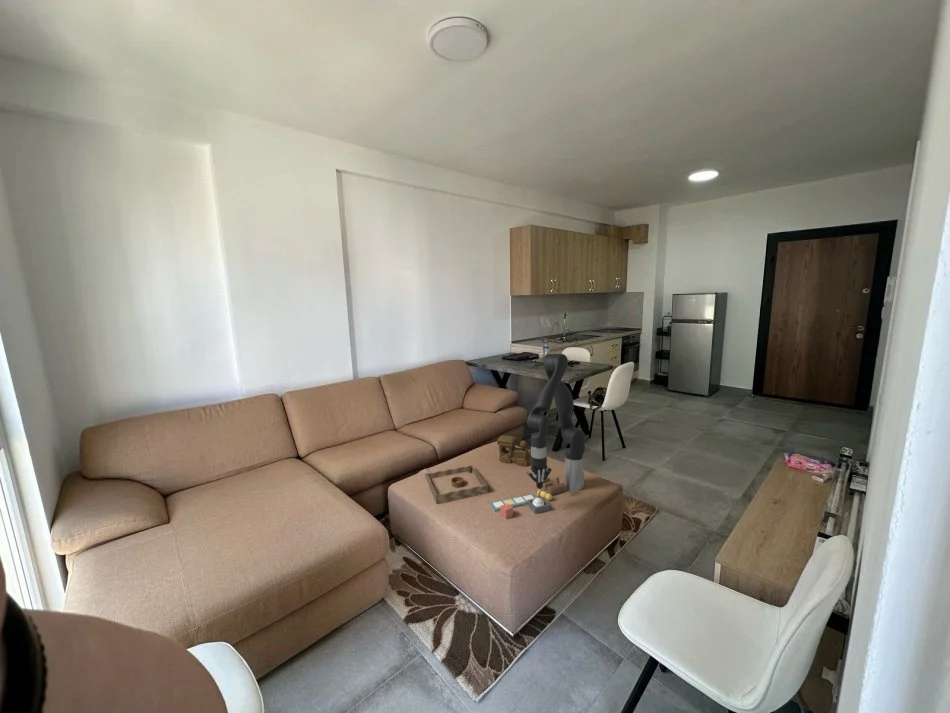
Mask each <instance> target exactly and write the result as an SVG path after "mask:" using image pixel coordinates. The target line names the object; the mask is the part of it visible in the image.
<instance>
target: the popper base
mask: <svg viewBox="0 0 950 713" xmlns="http://www.w3.org/2000/svg"><path fill="white" fill-rule="evenodd" d="M538 498H541V499H542V500H543V501H544V505H543V506H538V507H535V506H534V505H533V500H534V499H535V498H534V499H530V500H527V505H528V506H529V507H528V506H527V507H528V508H529V509H530V510H531V511H532V512H533V513H534V514H540V513H544V512H548V511H550V508H551V505H550V503H548V502H547V500H546V499H545V498H542V497H538Z"/></svg>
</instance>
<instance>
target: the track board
mask: <svg viewBox="0 0 950 713" xmlns="http://www.w3.org/2000/svg"><path fill="white" fill-rule="evenodd" d="M525 495H526V494H523V496H522V495H519V497H518V496H513V497H509V498H504V499H499V500H495V501H490V502H489V503H490V504H489V506H490V507H491V506H492V507H491V508H492V510H493V509H494V510H493V511H494V512H500V511H499V510H500V506H502V505H504V504H509V505H510V506H512V507H514V508H517V507H516V506H518V507H521V506H520V505H522V506H525V505H524V504H527V500H530V499H534V498H537V497H536V496H535V495H534V494H533V493H531V492H530V493H527V495H526V496H525Z"/></svg>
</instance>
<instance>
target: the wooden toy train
mask: <svg viewBox="0 0 950 713" xmlns="http://www.w3.org/2000/svg"><path fill="white" fill-rule="evenodd" d="M517 439H518V437H517V436H515V435H509V434H508V435H507V434H506V435H505V434H503V435H500V437H499V438H497V444H496V445H498V453H499V456H498V458H499V460H498V461H500V463H503V464H508V465H509V464H516V466H520V467H525V468H527V467H530V465H531V453H529V449H528V448H527V447H528V443H527V441H526V440H521V441H520V443H519V446H520V447H516V443H517V441H518V440H517Z"/></svg>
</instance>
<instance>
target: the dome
mask: <svg viewBox="0 0 950 713" xmlns="http://www.w3.org/2000/svg"><path fill="white" fill-rule="evenodd" d="M533 505H534V506H535V507H538V506H543V505H544V501H543V500H542V499H541V498H539V497H536V498H535V499H534V500H533Z"/></svg>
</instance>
